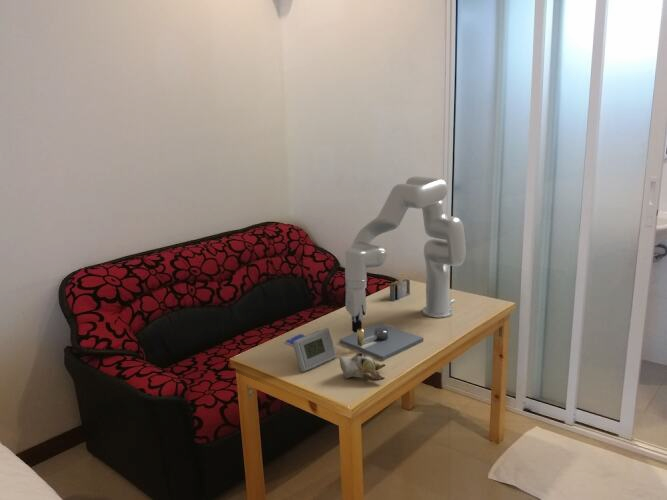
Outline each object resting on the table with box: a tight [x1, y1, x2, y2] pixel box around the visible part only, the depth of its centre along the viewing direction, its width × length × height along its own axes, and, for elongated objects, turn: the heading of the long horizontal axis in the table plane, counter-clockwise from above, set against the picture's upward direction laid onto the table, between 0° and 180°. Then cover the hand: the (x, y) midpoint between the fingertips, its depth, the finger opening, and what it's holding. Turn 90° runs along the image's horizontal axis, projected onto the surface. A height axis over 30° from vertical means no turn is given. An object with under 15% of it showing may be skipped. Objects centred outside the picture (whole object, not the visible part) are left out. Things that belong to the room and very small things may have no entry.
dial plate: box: [338, 322, 424, 361], centre depth 208 cm, size 22×22×2 cm
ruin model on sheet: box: [389, 278, 411, 302], centre depth 253 cm, size 11×3×10 cm, turn 135°
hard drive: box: [285, 334, 306, 347], centre depth 209 cm, size 2×8×12 cm
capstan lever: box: [357, 327, 388, 345], centre depth 204 cm, size 14×5×6 cm, turn 128°
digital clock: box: [292, 327, 337, 373], centre depth 192 cm, size 16×9×11 cm, turn 122°
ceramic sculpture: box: [338, 352, 386, 382], centre depth 181 cm, size 11×9×15 cm
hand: (356, 331), depth 203 cm, fingers closed
